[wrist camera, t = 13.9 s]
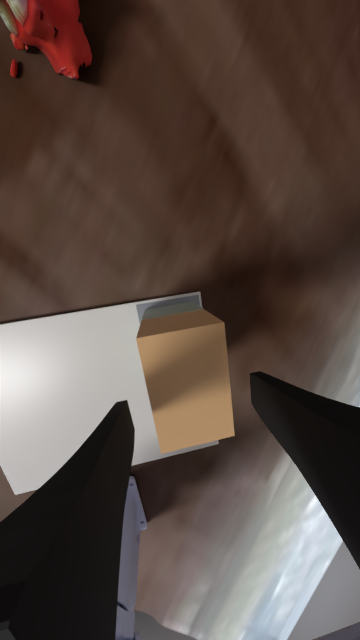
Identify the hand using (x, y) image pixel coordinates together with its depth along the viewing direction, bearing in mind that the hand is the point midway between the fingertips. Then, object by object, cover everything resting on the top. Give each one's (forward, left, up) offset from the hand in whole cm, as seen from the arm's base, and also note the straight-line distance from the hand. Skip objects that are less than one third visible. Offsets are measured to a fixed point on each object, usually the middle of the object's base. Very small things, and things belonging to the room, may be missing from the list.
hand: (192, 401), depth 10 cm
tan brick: (0, 0, -5) cm, 5 cm away
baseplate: (-5, +9, -10) cm, 15 cm away
